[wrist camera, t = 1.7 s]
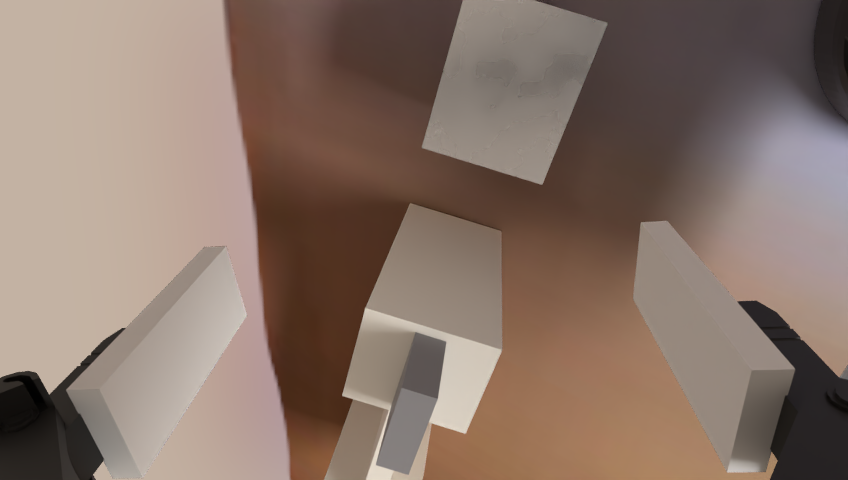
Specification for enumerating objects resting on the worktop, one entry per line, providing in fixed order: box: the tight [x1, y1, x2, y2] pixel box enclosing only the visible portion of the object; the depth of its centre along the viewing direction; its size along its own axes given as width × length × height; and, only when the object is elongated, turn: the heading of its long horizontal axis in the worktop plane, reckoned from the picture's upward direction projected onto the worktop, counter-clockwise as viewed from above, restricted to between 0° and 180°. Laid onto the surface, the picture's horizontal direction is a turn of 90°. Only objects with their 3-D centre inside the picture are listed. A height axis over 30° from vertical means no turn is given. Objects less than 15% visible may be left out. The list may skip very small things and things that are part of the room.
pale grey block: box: [422, 0, 608, 185], centre depth 29 cm, size 8×6×9 cm
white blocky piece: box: [324, 203, 502, 480], centre depth 35 cm, size 24×7×18 cm, turn 165°
